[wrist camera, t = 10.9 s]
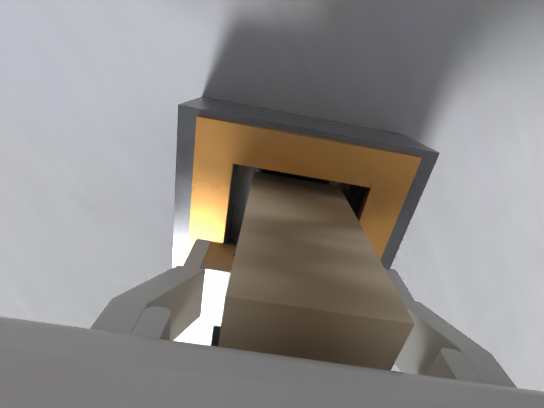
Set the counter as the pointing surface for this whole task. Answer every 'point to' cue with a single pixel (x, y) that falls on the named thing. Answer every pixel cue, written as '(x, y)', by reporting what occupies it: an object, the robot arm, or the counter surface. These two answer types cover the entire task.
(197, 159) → the socket rail
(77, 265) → the counter surface
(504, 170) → the counter surface
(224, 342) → the beech peg
